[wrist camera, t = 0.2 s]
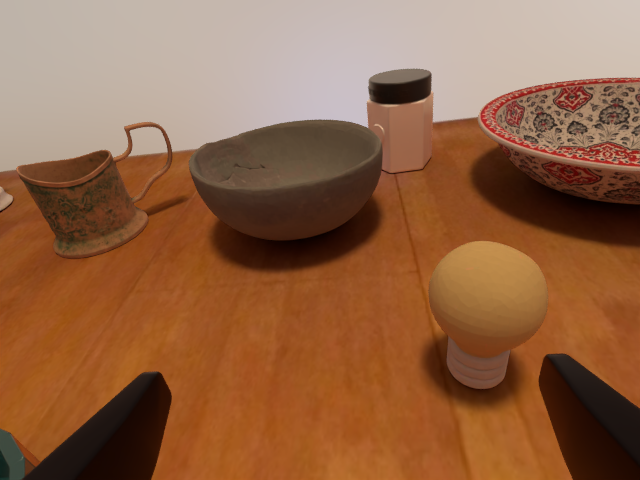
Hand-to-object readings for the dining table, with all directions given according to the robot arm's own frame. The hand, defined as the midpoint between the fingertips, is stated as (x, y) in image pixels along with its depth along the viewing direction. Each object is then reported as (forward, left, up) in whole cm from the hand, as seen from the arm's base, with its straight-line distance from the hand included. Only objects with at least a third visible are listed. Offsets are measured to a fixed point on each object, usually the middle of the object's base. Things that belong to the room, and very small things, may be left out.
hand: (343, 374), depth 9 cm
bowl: (+34, +6, -16) cm, 38 cm away
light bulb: (+12, -8, -16) cm, 21 cm away
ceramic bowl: (+37, -30, -16) cm, 50 cm away
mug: (+38, +30, -16) cm, 51 cm away
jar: (+49, -8, -16) cm, 52 cm away
